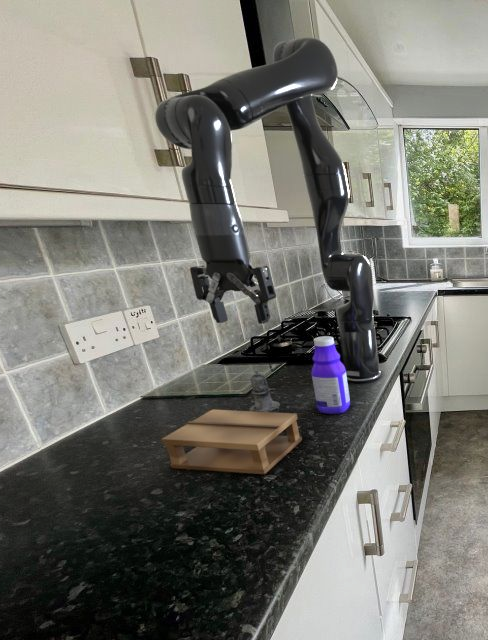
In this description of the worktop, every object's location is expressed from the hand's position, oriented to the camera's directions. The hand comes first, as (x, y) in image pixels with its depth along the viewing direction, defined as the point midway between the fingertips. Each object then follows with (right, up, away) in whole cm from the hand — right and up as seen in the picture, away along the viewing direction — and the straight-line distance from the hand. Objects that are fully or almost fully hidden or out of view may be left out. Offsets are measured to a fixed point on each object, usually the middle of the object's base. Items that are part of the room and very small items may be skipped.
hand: (243, 322), depth 78 cm
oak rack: (0, -25, 0) cm, 25 cm away
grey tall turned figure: (-2, -20, +12) cm, 24 cm away
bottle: (+11, -18, +17) cm, 27 cm away
